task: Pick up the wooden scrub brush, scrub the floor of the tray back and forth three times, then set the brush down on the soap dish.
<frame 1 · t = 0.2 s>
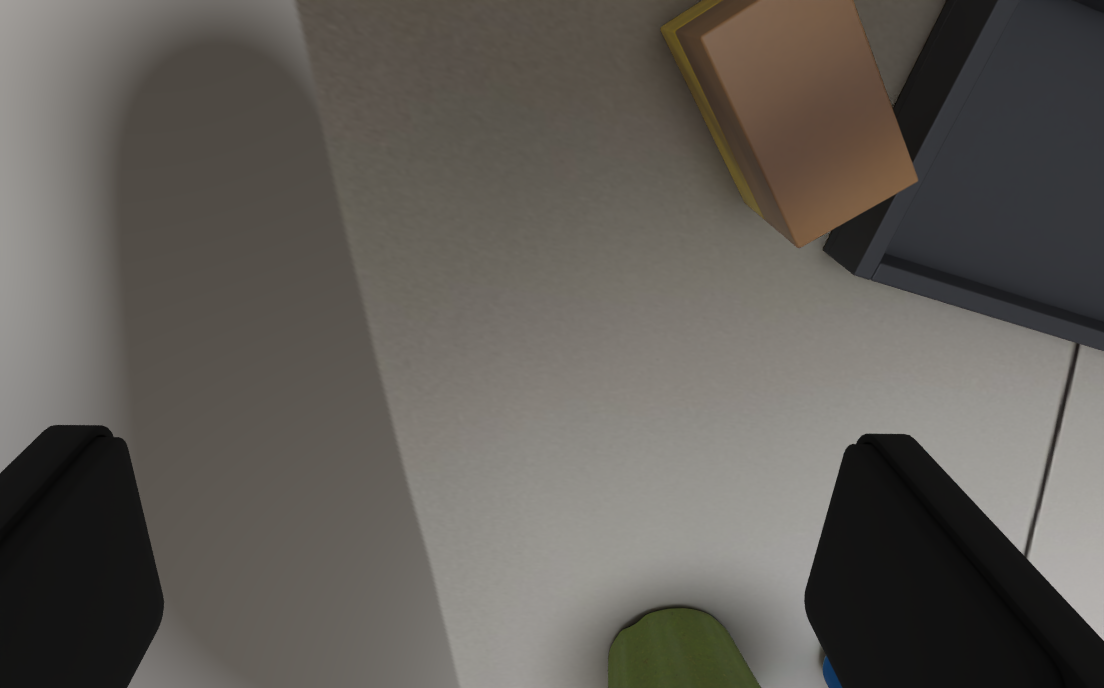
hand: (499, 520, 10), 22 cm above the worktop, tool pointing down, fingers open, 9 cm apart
beverage can: (868, 645, 43), on the worktop
scrub brush: (755, 89, 28), on the worktop
plant pot: (670, 647, 42), on the worktop
tray: (1088, 177, 31), on the worktop
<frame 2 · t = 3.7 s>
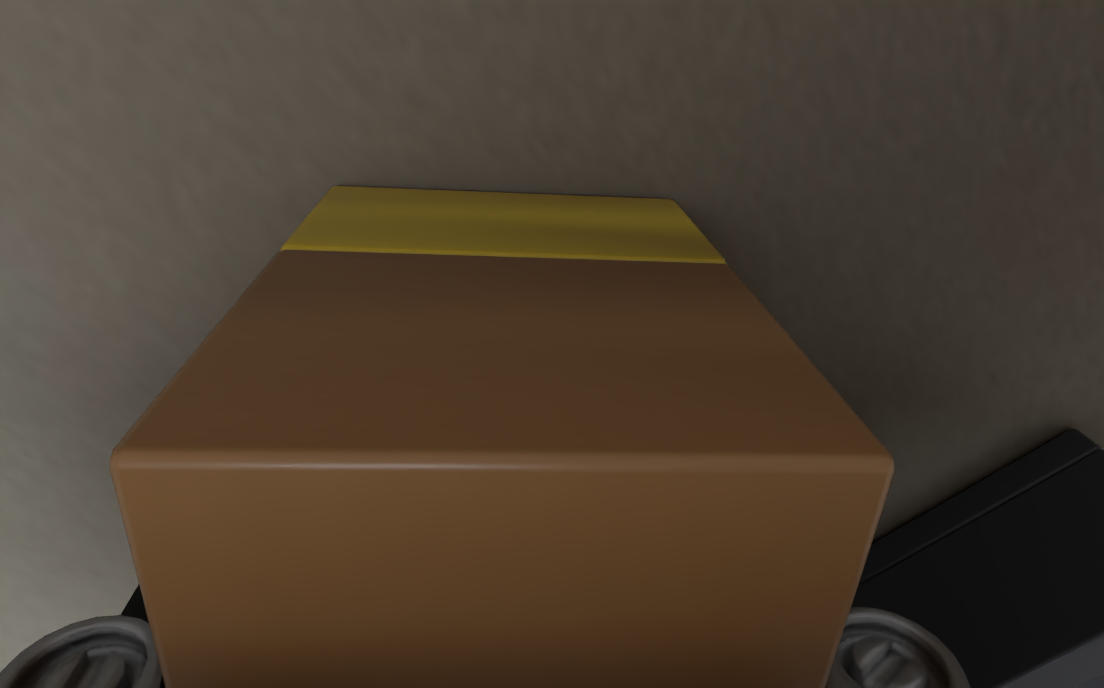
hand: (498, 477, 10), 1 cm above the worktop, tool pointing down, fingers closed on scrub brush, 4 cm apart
scrub brush: (498, 447, 11), on the worktop, touching gripper
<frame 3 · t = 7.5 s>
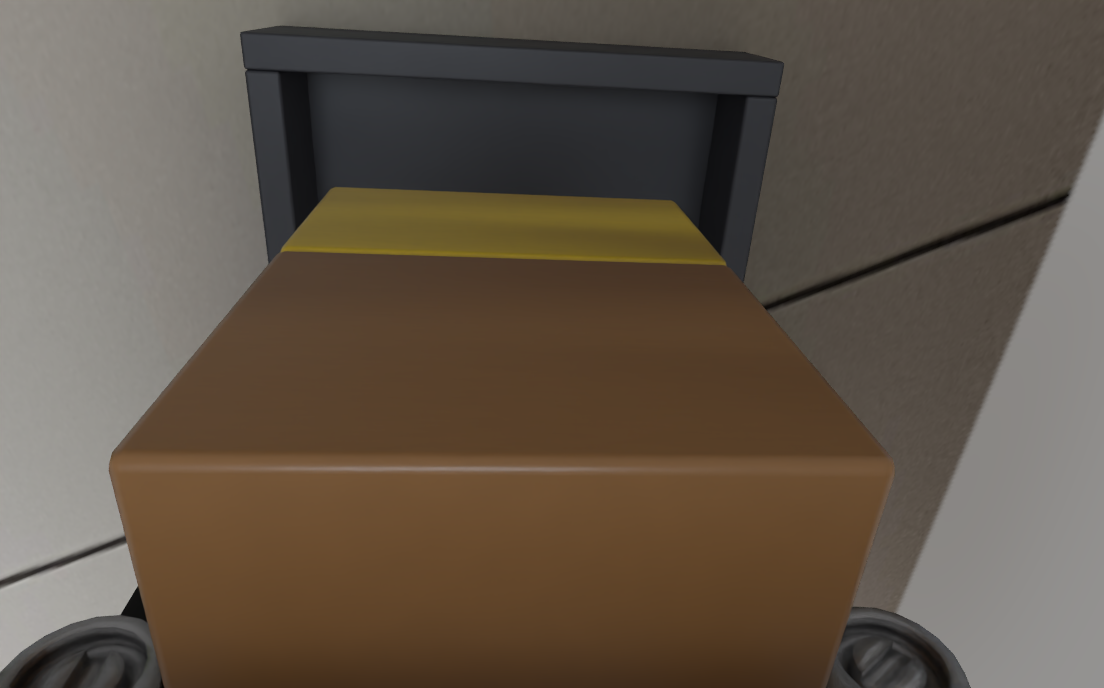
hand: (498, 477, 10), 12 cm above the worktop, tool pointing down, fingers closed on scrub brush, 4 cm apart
scrub brush: (498, 448, 11), point 12 cm above the worktop, touching gripper
tray: (507, 361, 24), on the worktop
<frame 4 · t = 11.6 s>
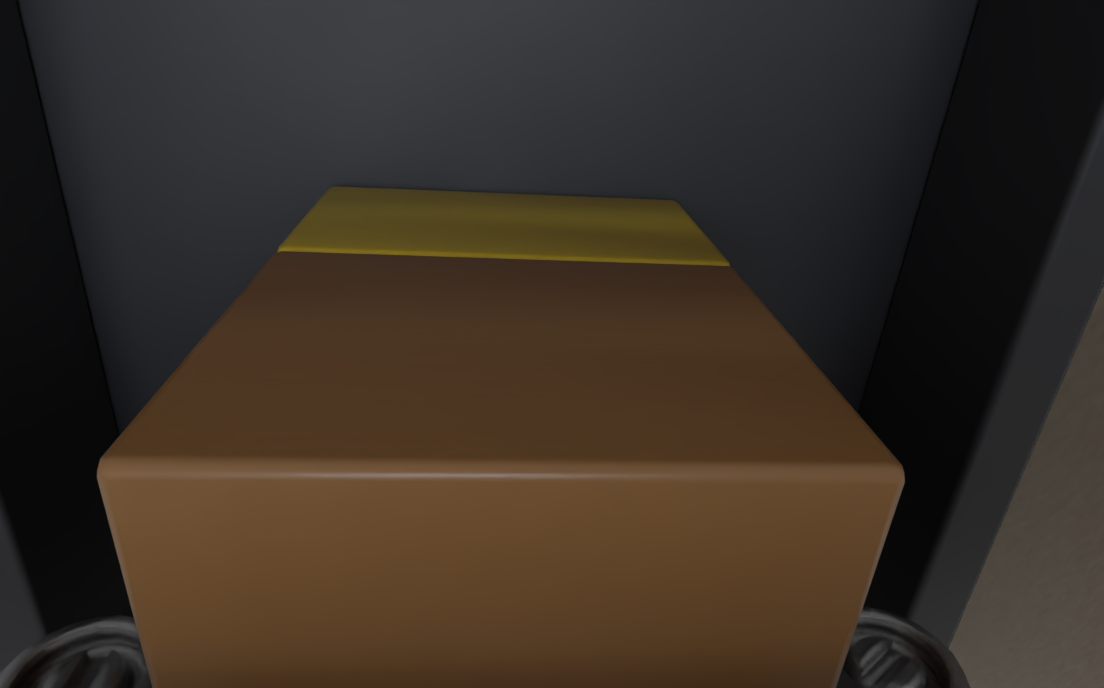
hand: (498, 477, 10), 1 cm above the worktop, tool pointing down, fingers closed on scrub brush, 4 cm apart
scrub brush: (498, 450, 11), point 1 cm above the worktop, touching gripper
tray: (500, 404, 11), on the worktop
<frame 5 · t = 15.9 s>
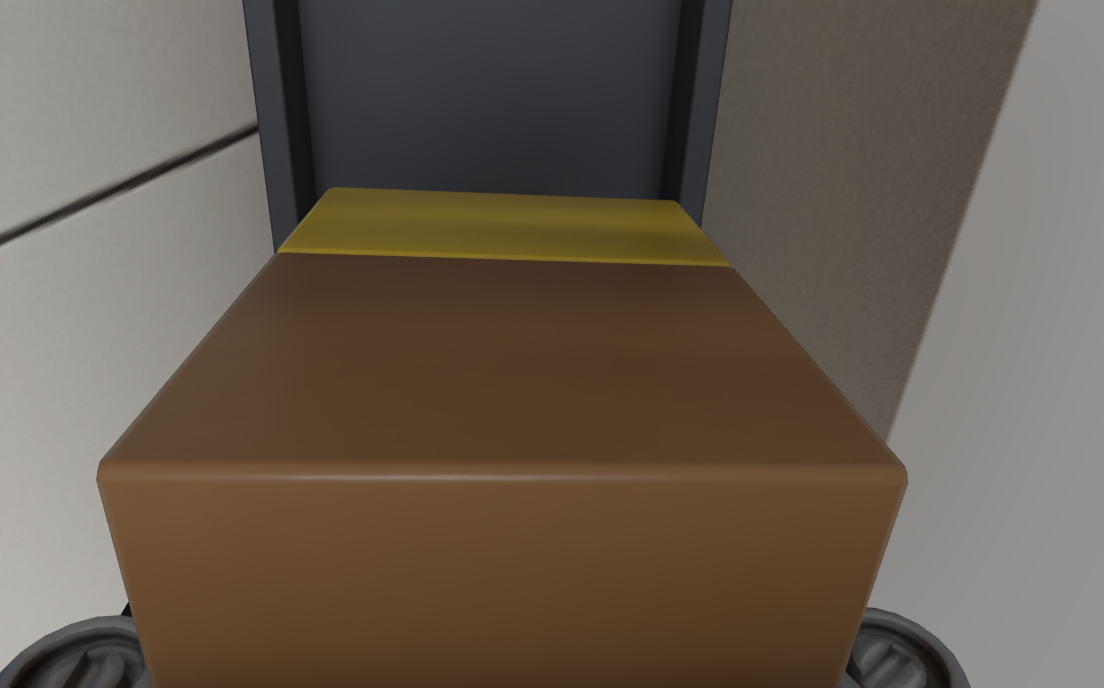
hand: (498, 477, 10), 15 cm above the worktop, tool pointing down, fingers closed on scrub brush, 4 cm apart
scrub brush: (498, 451, 11), point 14 cm above the worktop, touching gripper
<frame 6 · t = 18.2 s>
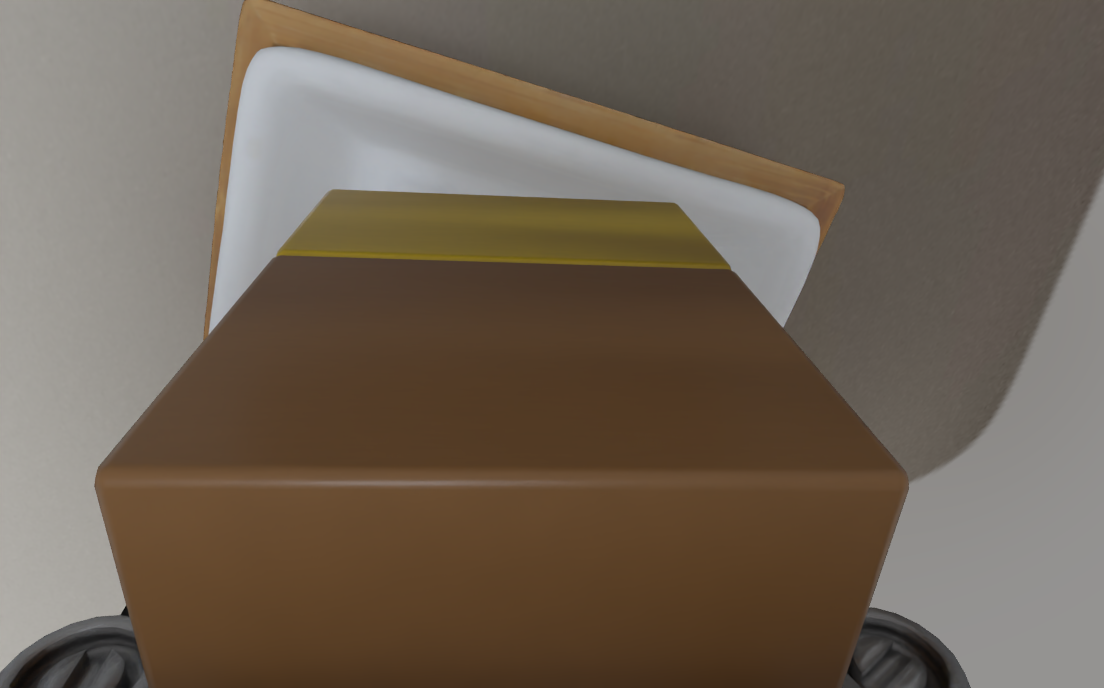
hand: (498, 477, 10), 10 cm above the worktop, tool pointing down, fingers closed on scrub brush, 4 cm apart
scrub brush: (498, 453, 11), point 9 cm above the worktop, touching gripper
soap dish: (502, 258, 19), on the worktop
when the fingers open (6 cm above the worktop, at t = 19.7 s): scrub brush stays where it is, resting on soap dish.
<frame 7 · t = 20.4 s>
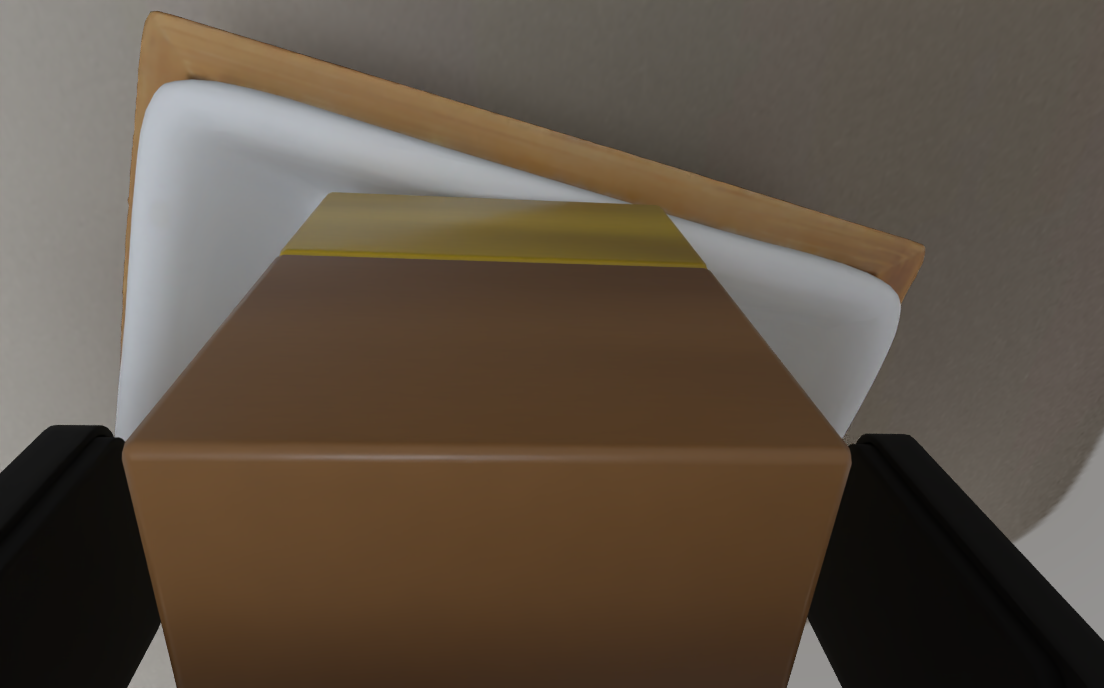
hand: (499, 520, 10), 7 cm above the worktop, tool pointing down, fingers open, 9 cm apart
scrub brush: (491, 445, 11), point 5 cm above the worktop, touching soap dish
soap dish: (494, 320, 16), on the worktop, touching scrub brush
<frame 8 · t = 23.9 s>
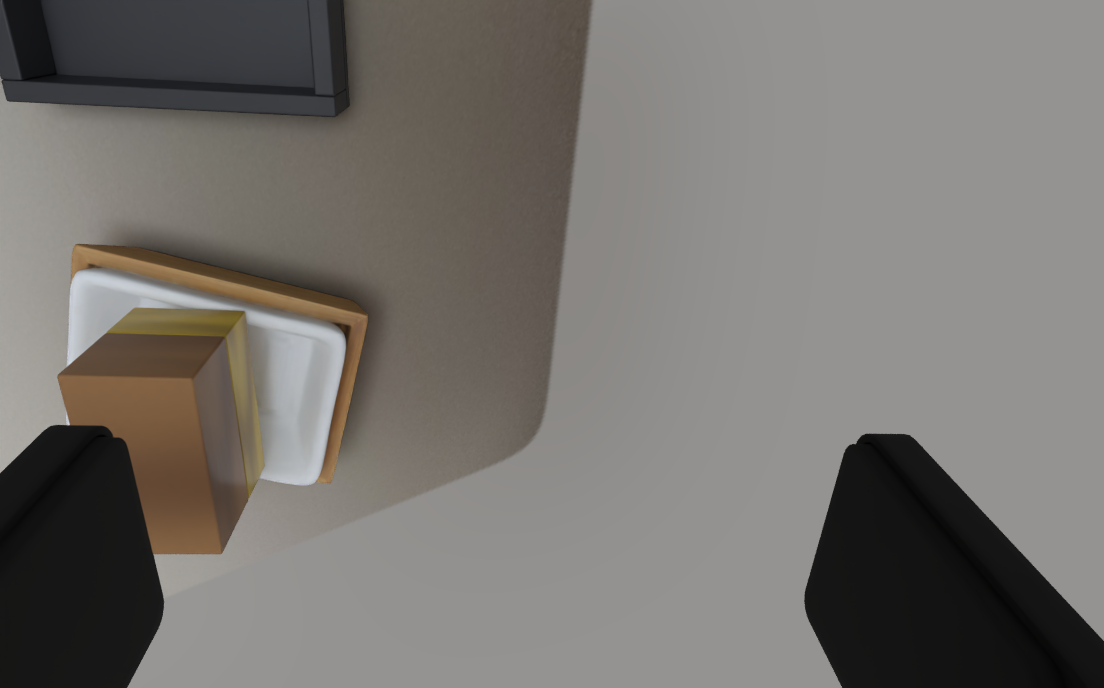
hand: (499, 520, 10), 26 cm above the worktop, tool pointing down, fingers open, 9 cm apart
scrub brush: (203, 391, 32), point 5 cm above the worktop, touching soap dish
soap dish: (240, 340, 37), on the worktop, touching scrub brush
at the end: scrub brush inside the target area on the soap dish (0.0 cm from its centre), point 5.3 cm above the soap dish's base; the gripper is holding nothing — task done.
